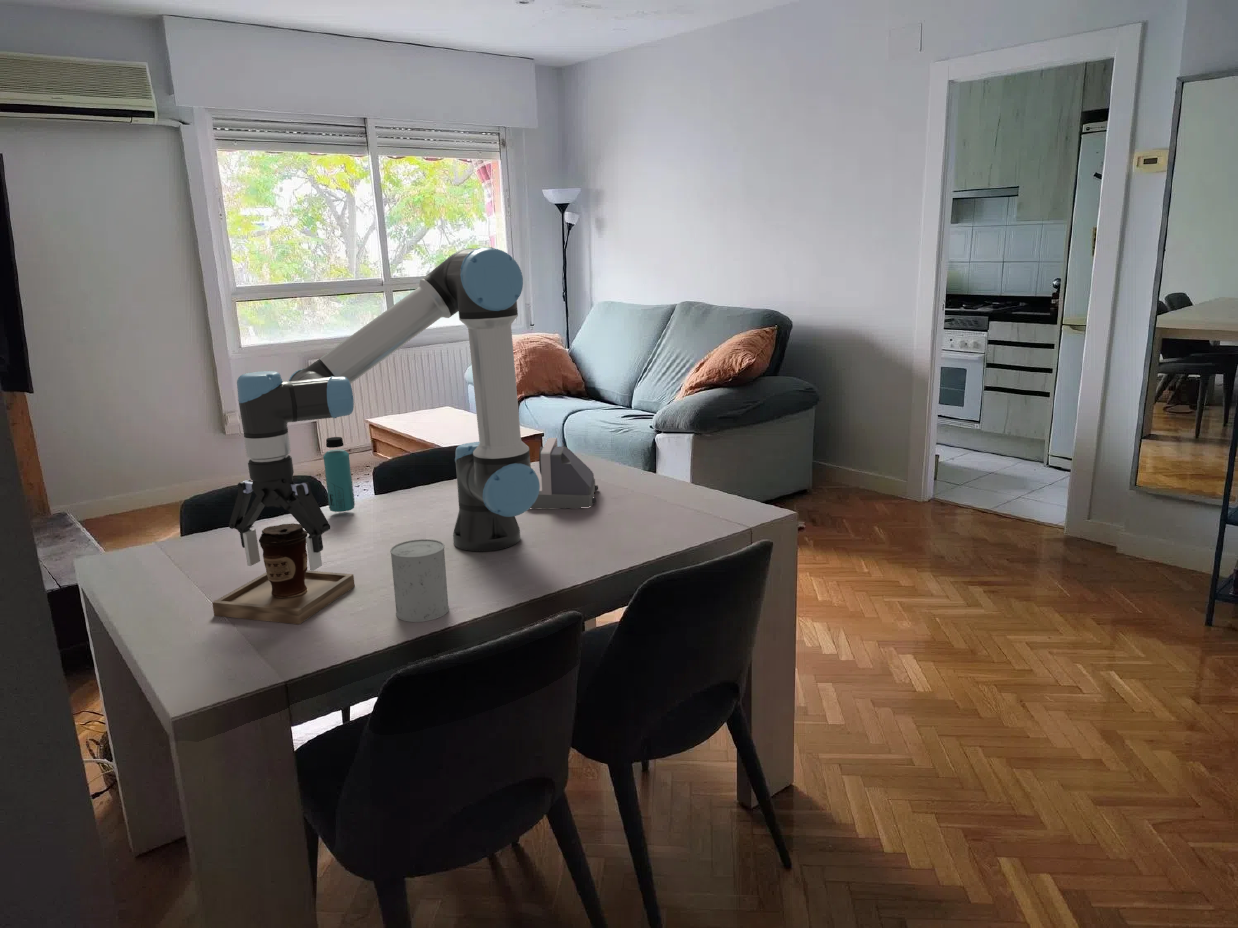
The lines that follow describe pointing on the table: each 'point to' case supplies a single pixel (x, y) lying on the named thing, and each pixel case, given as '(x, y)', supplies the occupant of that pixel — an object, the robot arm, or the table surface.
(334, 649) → the table surface
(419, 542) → the white speckled cylinder
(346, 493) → the beverage bottle
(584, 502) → the instant camera
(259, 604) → the tray
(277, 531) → the coffee cup
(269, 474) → the robot arm
